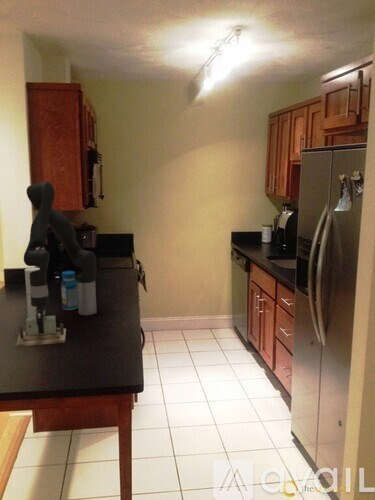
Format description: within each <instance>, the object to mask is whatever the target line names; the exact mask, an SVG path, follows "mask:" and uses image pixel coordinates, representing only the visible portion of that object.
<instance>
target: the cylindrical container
mask: <svg viewBox="0 0 375 500" xmlns="http://www.w3.org/2000/svg"><path fill="white" fill-rule="evenodd" d="M40 269H41V267H37V266H33V267H27V268H25V269H24V279H25V289H26V290H25V291H26V292H25V293H26V304H27V305H26V306H27V318H28V317H36V313H35V310H36V308H37V307H33V306H32V305H31V297H30V273H31V272H33V271H36V270H40Z"/></svg>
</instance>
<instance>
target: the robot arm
mask: <svg viewBox="0 0 375 500" xmlns="http://www.w3.org/2000/svg"><path fill="white" fill-rule="evenodd" d="M26 195H27V198H28V200H29V202H30V203H31V205H33V207H34V208H35V209H36V210H37V214H36V216H35V217H34V219H33V220H32V222H31V226H30V233H29V241H28V244H27V247H26V248H25V249H26V250H25V252H24V254H23V262H24V264H25V266H28V267H40V270H36V271H33V272H31V273H30V297H31V305H32V306H33V307H37V308H36V310H35V313H36V320H37V326H38V330H39V334H42V333H44V319H45V316H47V315H46V311H47V309H46V306H48V305H49V304H50V299H49V288H48V275H47V273H48V268H49V267H48V266H49V263H50V258H51V257H50V252H49V251H48V250H46V249H38V248H41V247H44V246H45V245H46V244H47V240H48V227H50V229H51V230H52V231H53V233H54V235H55V236H56V238H57V239H58V240H59V242H60V243H61V244H62V246H63V247H64V249H65V250H66V252H67V254H68V256H69V258H70V259H71V261H72V264H74V266H76V267H77V268H80V269H81V273H80V274H78V275H76V282H77V297H78V308H77V309H78V311H77V313H78V315H80V316H81V315H82V316H92V315H95V314H98V313H97V296H96V276H97V256H96V254H95V253H94V252H93V251H91V250H86V249H83V248H82V247H81V246H80V244H79V243H78V241H77V237H76V236H77V235H76V234H77V233H76V230H75V227H74V226H73V224H72V222H71V221H70V219H69V218H68V217H67V216H65V214H63V213H62V212H59V211H58V210H56V209H54V208H53V205H54V200H55V196H56V195H55V188H54V186H53V184H52V183H51V182H49V181H41V182H37V183H33V184H31V185H29V186H27V188H26ZM39 321H41V322H42V323H39Z"/></svg>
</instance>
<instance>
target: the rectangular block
mask: <svg viewBox="0 0 375 500" xmlns="http://www.w3.org/2000/svg"><path fill="white" fill-rule="evenodd" d="M39 323H42V322H41V321H39ZM25 326H26V330H27V336H35V335H47V334H56V328H57V321H56V315H45V319H44V333H42V334H39V330H38V326H37V320H36V317H28V316H27V317H26V319H25Z"/></svg>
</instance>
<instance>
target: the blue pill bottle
mask: <svg viewBox="0 0 375 500" xmlns="http://www.w3.org/2000/svg"><path fill="white" fill-rule="evenodd" d="M61 278H62V281H61V284H60V286H61V290H60V292H61V303H62V304H61V305H62V307H61V308H62V309H63V310H65V311H72V310H76V309H78V293H77V280H76V272H75V271H74V270H66V271H62V272H61Z"/></svg>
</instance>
